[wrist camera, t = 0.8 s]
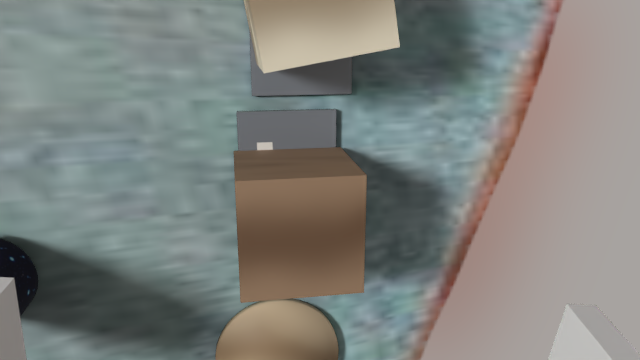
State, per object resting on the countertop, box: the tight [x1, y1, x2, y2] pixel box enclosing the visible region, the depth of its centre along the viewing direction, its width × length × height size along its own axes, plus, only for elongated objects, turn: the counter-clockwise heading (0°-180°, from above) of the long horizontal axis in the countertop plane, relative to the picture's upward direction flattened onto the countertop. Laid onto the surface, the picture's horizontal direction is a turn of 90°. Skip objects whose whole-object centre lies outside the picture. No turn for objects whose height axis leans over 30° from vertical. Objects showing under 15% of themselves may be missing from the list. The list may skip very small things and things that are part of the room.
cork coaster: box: [216, 299, 339, 360], centre depth 38 cm, size 9×9×1 cm
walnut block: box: [234, 147, 367, 303], centre depth 32 cm, size 7×7×7 cm
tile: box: [237, 109, 336, 151], centre depth 35 cm, size 12×6×1 cm, turn 0°
